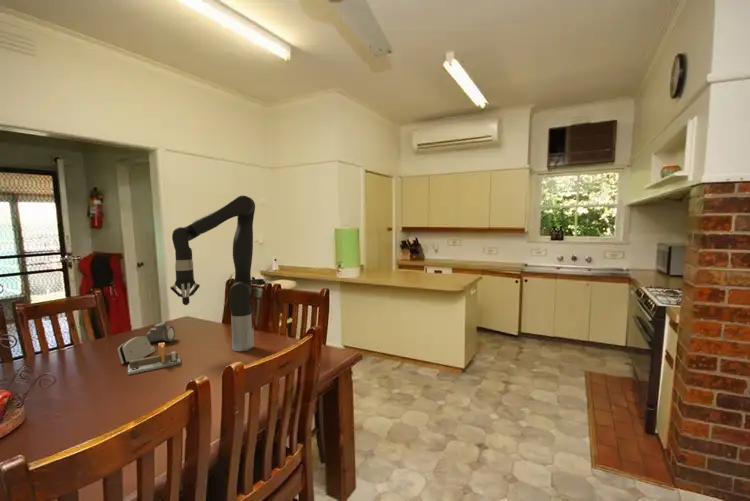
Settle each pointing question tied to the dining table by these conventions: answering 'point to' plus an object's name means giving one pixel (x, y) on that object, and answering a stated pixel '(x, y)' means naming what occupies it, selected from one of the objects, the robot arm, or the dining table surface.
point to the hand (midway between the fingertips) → (186, 304)
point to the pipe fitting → (161, 333)
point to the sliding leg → (162, 350)
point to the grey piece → (153, 363)
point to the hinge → (135, 349)
